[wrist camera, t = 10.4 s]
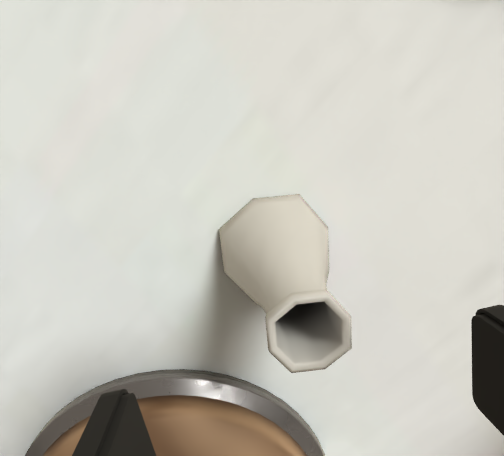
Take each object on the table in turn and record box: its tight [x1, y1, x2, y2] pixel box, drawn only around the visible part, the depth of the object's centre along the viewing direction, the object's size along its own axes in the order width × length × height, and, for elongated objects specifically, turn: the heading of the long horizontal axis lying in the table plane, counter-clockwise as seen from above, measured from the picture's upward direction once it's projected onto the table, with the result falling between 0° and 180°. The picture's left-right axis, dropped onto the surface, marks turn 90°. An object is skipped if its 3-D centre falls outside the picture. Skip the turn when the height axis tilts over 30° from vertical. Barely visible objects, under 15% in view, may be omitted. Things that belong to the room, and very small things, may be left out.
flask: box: [219, 194, 352, 373], centre depth 17 cm, size 7×7×10 cm
